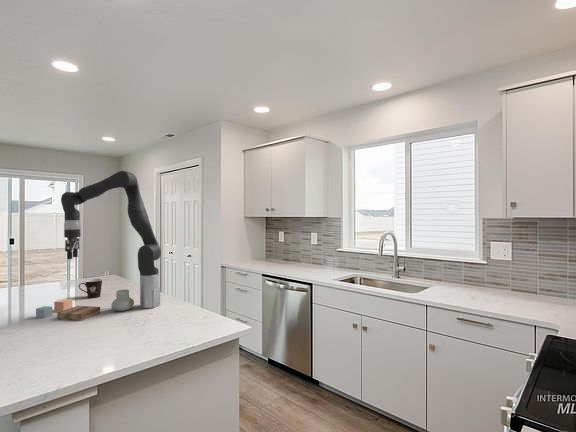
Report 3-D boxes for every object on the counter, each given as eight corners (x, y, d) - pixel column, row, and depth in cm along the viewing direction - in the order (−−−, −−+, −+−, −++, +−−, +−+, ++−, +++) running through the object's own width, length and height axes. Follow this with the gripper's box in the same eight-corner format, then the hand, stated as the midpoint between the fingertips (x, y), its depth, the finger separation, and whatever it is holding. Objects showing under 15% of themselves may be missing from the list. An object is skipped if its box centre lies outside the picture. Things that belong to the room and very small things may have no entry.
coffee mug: (105, 295, 201) (105, 279, 200) (95, 298, 192) (95, 281, 192) (87, 294, 202) (87, 278, 202) (77, 298, 193) (77, 281, 193)
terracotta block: (72, 309, 172) (72, 299, 172) (63, 312, 167) (63, 302, 167) (63, 308, 173) (63, 299, 173) (54, 311, 168) (54, 301, 168)
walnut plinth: (100, 312, 165) (100, 306, 165) (81, 320, 153) (81, 314, 153) (77, 311, 168) (77, 305, 167) (57, 318, 156) (57, 312, 156)
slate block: (52, 315, 161) (52, 306, 161) (43, 318, 157) (43, 309, 157) (44, 315, 162) (44, 306, 162) (35, 318, 158) (35, 308, 158)
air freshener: (125, 312, 165) (125, 293, 165) (109, 312, 165) (109, 293, 165) (135, 306, 176) (135, 288, 176) (120, 306, 176) (120, 288, 176)
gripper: (75, 229, 174) (75, 259, 174) (84, 227, 188) (84, 256, 188) (59, 229, 172) (59, 260, 172) (69, 228, 185) (69, 256, 186)
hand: (72, 258), depth 180 cm, fingers open, 8 cm apart
